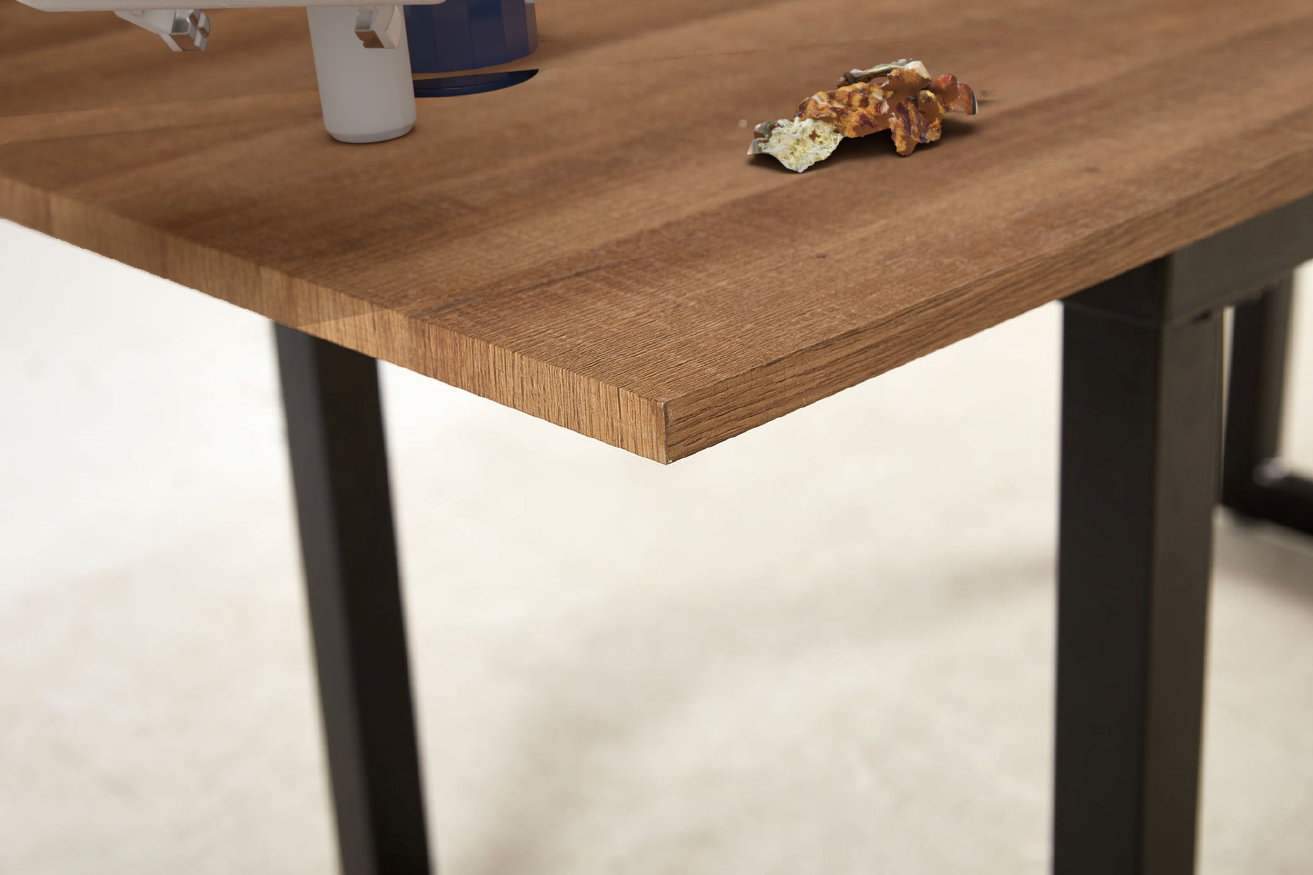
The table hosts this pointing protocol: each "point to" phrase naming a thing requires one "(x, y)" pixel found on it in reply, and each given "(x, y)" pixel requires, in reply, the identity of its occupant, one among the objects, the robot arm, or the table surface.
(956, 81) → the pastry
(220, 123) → the table surface
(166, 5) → the robot arm
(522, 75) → the pot
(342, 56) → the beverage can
